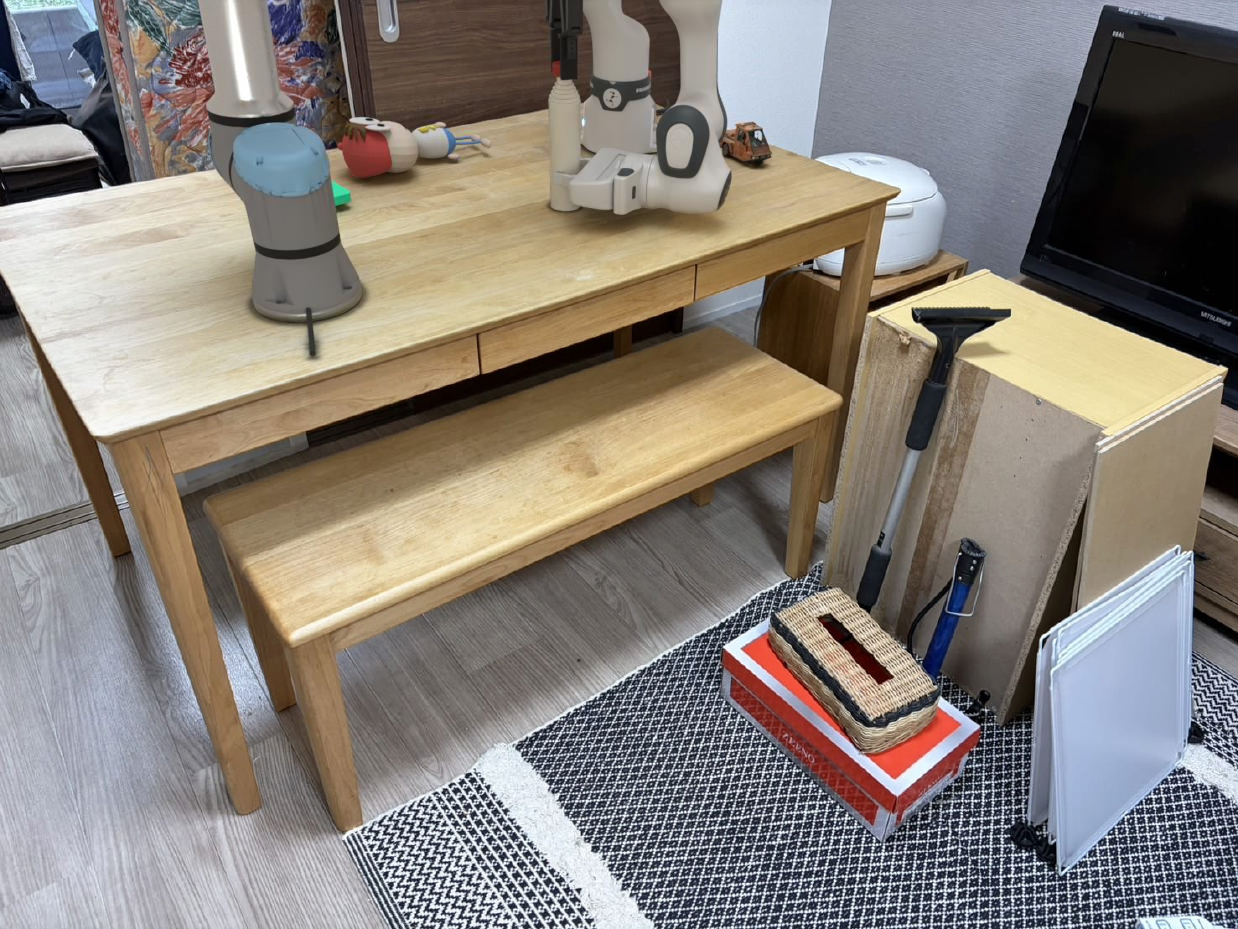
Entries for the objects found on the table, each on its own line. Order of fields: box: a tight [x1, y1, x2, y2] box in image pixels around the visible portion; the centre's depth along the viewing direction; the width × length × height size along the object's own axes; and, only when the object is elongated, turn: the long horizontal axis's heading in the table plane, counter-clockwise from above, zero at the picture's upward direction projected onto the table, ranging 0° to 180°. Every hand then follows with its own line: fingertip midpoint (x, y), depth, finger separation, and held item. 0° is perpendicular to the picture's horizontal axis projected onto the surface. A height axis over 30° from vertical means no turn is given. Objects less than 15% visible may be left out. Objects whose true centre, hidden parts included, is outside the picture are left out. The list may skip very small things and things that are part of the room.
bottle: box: [547, 77, 582, 212], centre depth 159 cm, size 5×5×24 cm
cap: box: [551, 60, 560, 77], centre depth 152 cm, size 4×4×2 cm
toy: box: [336, 116, 492, 179], centre depth 179 cm, size 18×10×30 cm
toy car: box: [719, 121, 773, 167], centre depth 186 cm, size 6×12×7 cm, turn 39°
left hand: (564, 74), depth 153 cm, fingers open, 4 cm apart
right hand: (560, 170), depth 162 cm, fingers closed on bottle, 5 cm apart
